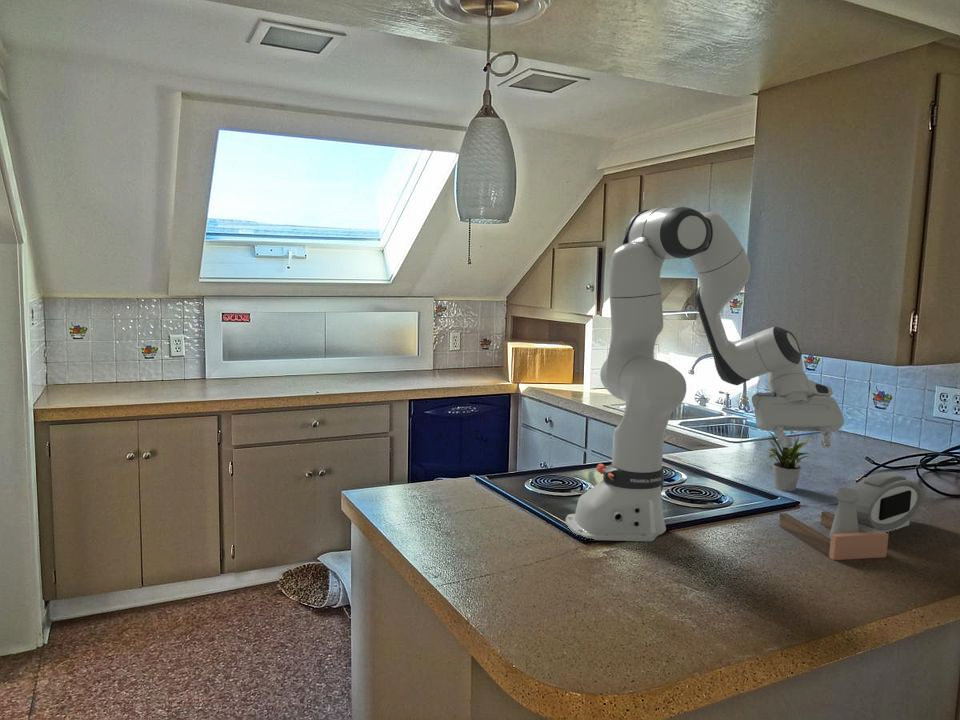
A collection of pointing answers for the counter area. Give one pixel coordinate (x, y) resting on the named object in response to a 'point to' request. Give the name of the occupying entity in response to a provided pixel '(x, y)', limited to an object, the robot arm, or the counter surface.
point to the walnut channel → (810, 531)
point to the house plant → (786, 465)
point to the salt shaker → (846, 512)
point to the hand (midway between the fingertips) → (807, 446)
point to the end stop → (858, 545)
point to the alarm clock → (886, 502)
